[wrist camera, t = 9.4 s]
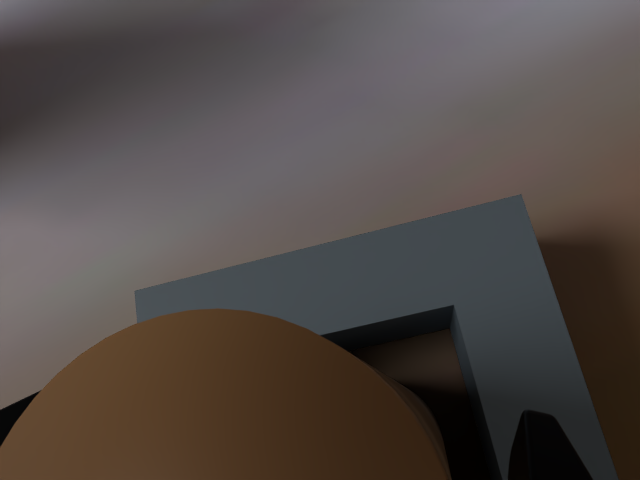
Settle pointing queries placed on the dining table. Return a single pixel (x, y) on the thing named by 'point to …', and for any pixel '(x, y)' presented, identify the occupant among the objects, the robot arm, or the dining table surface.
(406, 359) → the dining table surface
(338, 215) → the dining table surface
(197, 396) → the tall walnut pin
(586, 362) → the dining table surface
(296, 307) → the hole block
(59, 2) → the dining table surface
